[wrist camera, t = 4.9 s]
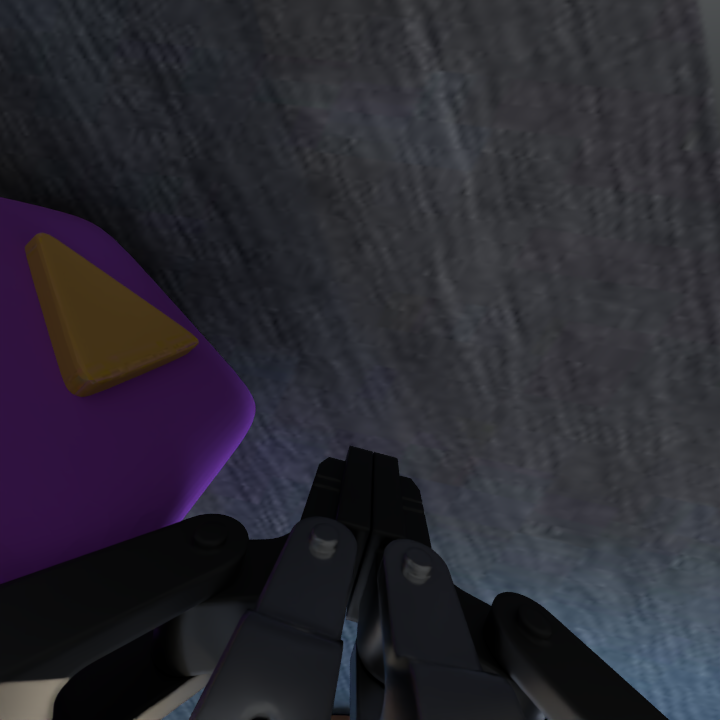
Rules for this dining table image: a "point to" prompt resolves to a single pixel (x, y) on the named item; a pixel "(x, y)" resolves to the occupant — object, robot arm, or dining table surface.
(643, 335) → the dining table surface
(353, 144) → the dining table surface
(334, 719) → the square metal plate
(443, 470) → the dining table surface
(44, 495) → the toy camera
